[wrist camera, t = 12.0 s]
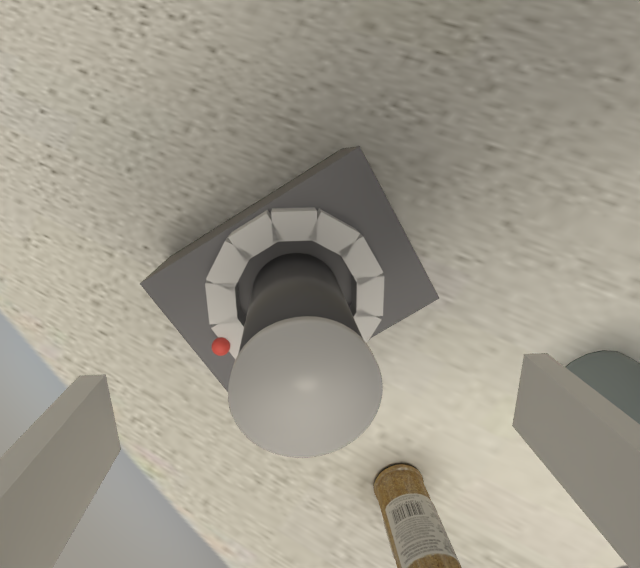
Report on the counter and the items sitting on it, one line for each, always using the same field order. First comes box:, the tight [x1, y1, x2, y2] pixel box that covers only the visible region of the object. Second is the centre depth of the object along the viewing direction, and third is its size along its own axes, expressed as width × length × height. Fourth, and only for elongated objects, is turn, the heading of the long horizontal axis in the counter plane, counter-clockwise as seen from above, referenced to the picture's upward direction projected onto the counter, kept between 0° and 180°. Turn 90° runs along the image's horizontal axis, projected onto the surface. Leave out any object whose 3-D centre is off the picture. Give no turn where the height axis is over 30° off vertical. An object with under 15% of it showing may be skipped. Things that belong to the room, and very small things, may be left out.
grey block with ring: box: [140, 146, 439, 392], centre depth 24 cm, size 14×10×8 cm
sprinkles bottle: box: [374, 464, 461, 568], centre depth 29 cm, size 5×5×14 cm
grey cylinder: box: [228, 253, 382, 458], centre depth 18 cm, size 5×5×10 cm
